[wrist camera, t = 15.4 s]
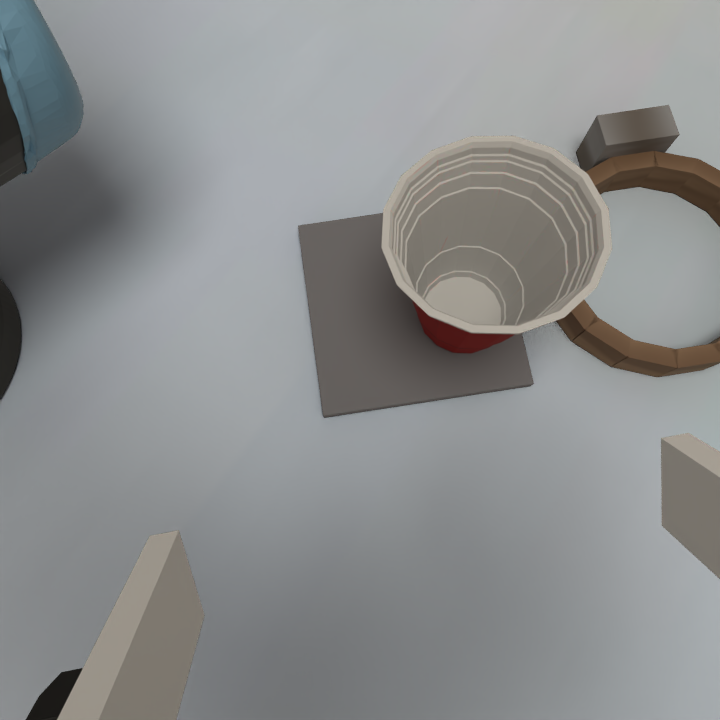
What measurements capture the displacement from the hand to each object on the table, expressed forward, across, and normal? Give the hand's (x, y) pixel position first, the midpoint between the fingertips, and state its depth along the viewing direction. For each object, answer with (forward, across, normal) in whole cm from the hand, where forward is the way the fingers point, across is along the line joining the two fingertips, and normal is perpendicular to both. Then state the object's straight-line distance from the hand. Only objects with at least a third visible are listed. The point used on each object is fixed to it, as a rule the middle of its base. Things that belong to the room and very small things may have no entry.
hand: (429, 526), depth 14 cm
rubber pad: (+25, +4, +1) cm, 25 cm away
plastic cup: (+23, +7, 0) cm, 24 cm away
